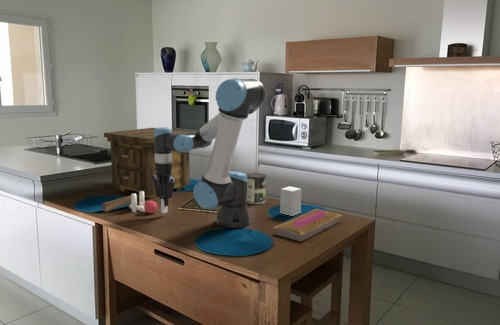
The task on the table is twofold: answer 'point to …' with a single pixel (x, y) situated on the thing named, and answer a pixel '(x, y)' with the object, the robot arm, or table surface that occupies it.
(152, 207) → the ball
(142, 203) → the pin
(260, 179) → the coffee can
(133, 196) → the pin
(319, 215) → the pink-striped wooden board
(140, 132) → the wooden drawer cabinet
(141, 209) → the front pin
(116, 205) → the backstop
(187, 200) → the table surface
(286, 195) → the supplement box
